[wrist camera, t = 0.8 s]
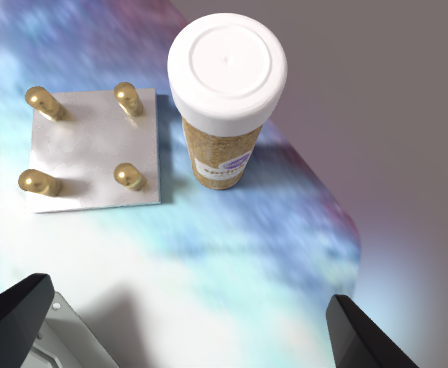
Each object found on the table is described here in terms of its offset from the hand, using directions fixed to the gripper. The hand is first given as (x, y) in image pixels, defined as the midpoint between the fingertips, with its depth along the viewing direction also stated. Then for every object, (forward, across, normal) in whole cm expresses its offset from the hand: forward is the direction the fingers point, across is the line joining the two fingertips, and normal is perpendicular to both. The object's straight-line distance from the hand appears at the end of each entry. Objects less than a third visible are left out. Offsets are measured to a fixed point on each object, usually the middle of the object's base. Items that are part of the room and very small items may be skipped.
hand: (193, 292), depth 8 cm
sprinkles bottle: (+15, 0, +2) cm, 15 cm away
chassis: (+15, +10, +2) cm, 18 cm away
